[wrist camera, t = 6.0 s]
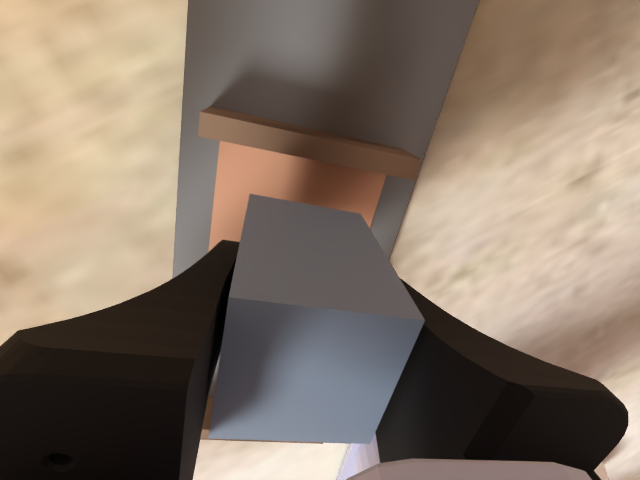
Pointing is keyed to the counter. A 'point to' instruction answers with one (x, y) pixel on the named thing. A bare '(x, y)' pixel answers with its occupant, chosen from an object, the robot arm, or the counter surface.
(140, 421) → the robot arm
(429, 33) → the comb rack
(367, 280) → the plug block
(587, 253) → the counter surface
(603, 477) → the white jar
